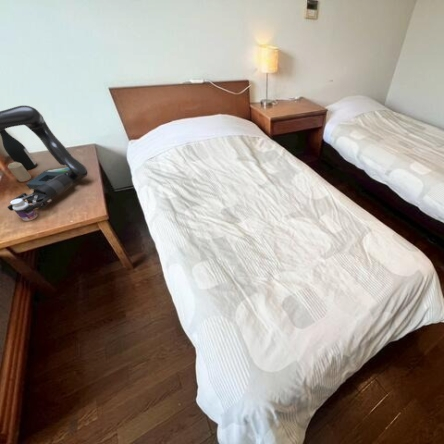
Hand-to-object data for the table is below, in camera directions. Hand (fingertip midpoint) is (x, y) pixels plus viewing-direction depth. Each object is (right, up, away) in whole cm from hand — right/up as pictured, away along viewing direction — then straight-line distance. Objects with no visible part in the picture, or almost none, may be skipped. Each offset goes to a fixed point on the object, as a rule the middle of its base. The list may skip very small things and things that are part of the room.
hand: (17, 210), depth 110 cm
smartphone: (-12, +24, +35) cm, 44 cm away
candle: (-25, +19, +26) cm, 41 cm away
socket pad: (-10, +17, +26) cm, 32 cm away
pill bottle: (0, -3, +6) cm, 7 cm away
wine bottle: (-32, +27, +35) cm, 55 cm away
